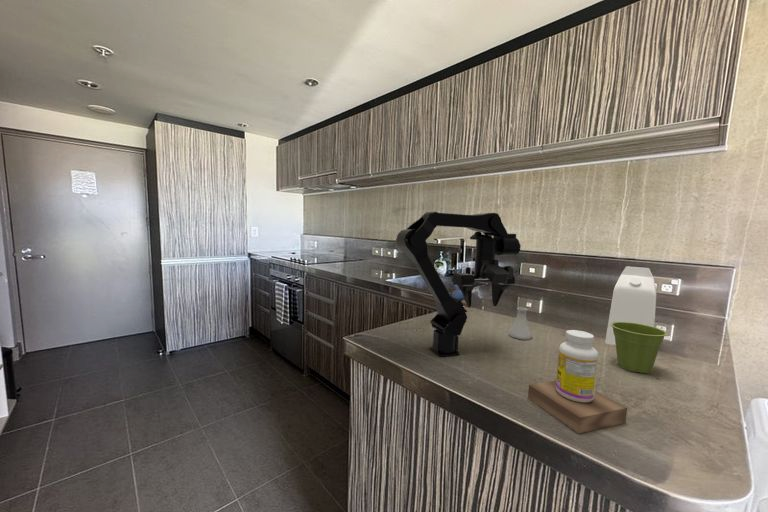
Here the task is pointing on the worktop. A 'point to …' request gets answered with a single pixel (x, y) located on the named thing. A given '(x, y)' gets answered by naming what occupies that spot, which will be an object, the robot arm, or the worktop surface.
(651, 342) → the plant pot
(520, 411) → the worktop surface
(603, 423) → the walnut base block
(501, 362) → the worktop surface
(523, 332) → the flask
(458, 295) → the model
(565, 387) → the supplement bottle
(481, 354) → the worktop surface
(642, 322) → the milk
